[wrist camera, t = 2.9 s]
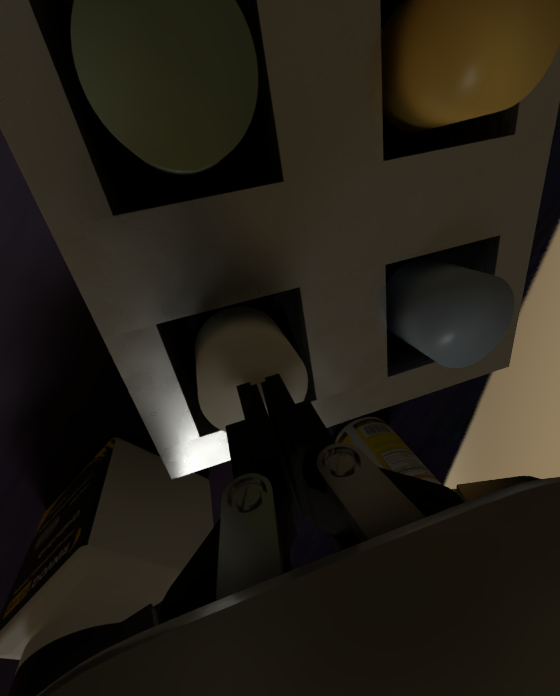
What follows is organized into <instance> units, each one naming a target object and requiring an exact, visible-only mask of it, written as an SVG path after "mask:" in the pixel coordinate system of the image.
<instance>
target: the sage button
mask: <svg viewBox="0 0 560 696" xmlns="http://www.w3.org/2000/svg"><path fill="white" fill-rule="evenodd" d="M71 45H72V53H73V58H74V63H75V67H76V71H77V74H78V77H79V80H80V83H81V85H82V88H83V90H84V92H85V95H86V97H87V99H88V101H89V102H90V104H91V106H92V108H93V110H94V111H95V113H96V114H97V116H98V117H99V119H100V120H101V121H102V123H103V124H104V125H105V126H106V128H107V129H108V130H109V131H110V132H111V133H112V135H114V136H115V137H116V138H117V139H118V140H119V141H120V142H121V143H122V144H123V145H124V146H125V147H127V148H128V149H129V150H130V151H132V152H133V153H134V154H135V155H137V156H138V157H139V158H140V159H142V160H143V161H144V162H145V163H147V164H148V165H150V166H152V167H153V168H155V169H157V170H159V171H162V172H164V173H167V174H171V175H177V176H191V175H196V174H200V173H202V172H205V171H207V170H209V169H210V168H212V167H213V166H215V165H216V164H217V163H218V162H219V161H220V160H222V159H223V158H224V157H225V156H226V155H227V154H229V153H230V152H231V151H232V150H233V149H234V148H235V147H236V146H237V144H238V143H239V142H240V141H241V139H242V138H243V136H244V134H245V133H246V131H247V129H248V127H249V125H250V123H251V120H252V117H253V114H254V111H255V106H256V101H257V94H258V65H257V57H256V52H255V47H254V43H253V39H252V36H251V33H250V30H249V27H248V25H247V22H246V20H245V18H244V15H243V13H242V11H241V10H240V8H239V6H238V4H237V2H236V0H74V3H73V9H72V16H71Z"/></svg>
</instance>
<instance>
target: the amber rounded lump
mask: <svg viewBox="0 0 560 696" xmlns="http://www.w3.org/2000/svg"><path fill="white" fill-rule="evenodd" d="M559 44H560V0H405V1H403V2H402V3H401V4H400V5H399V6H398V7H397V8H396V9H395V10H394V11H393V12H392V13H391V15H390V16H389V18H388V19H387V21H386V23H385V24H384V26H383V28H382V30H381V65H382V113H383V114H384V116H385V117H386V118H387V120H388V121H389V122H390V123H391V124H392V125H394V126H395V127H397V128H398V129H401V130H403V131H406V132H421V131H425V130H429V129H433V128H437V127H441V126H445V125H448V124H452V123H456V122H460V121H464V120H468V119H472V118H476V117H480V116H483V115H487V114H491V113H495V112H499V111H502V110H506V109H508V108H510V107H512V106H514V105H515V104H517V103H518V102H520V101H521V100H522V99H524V98H525V97H526V96H527V95H528V94H529V93H530V92H531V91H532V90H533V89H534V88H535V86H536V85H537V84H538V83H539V82H540V80H541V79H542V77H543V76H544V74H545V73H546V71H547V69H548V68H549V66H550V64H551V62H552V60H553V58H554V56H555V54H556V52H557V49H558V47H559Z"/></svg>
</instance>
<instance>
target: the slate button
mask: <svg viewBox="0 0 560 696" xmlns="http://www.w3.org/2000/svg"><path fill="white" fill-rule="evenodd" d="M513 312H514V295H513V292H512V289H511V287H510V286H509V284H508V283H507V282H506V281H505V280H504V279H502V278H500V277H497V276H494V275H490V274H487V273H483V272H479V271H475V270H472V269H468V268H464V267H460V266H457V265H453V264H449V263H445V262H441V261H438V260H434V259H430V258H420V259H415V260H412V261H410V262H408V263H406V264H405V265H403V266H402V267H400V268H399V269H398V270H397V271H396V272H395V273H394V274H393V275H392V276H391V277H390V279H389V280H388V282H387V283H386V323H387V329H388V330H389V331H391V332H392V333H394V334H395V335H397V336H398V337H400V338H401V339H403V340H404V341H406V342H407V343H409V344H410V345H412V346H413V347H415V348H416V349H418V350H419V351H421V352H422V353H424V354H425V355H427V356H428V357H430V358H431V359H433V360H434V361H436V362H437V363H439V364H440V365H442V366H444V367H447V368H463V367H466V366H469V365H472V364H474V363H476V362H478V361H479V360H481V359H482V358H484V357H485V356H486V355H488V354H489V353H490V352H491V351H492V350H493V349H494V348H495V347H496V346H497V345H498V343H499V342H500V341H501V339H502V338H503V336H504V335H505V333H506V331H507V330H508V327H509V325H510V323H511V320H512V317H513Z"/></svg>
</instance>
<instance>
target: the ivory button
mask: <svg viewBox="0 0 560 696" xmlns="http://www.w3.org/2000/svg"><path fill="white" fill-rule="evenodd" d="M195 363H196V376H197V389H198V400H199V404H200V408H201V410H202V412H203V414H204V416H205V417H206V418H207V420H208V421H209V422H210V423H211V424H213V425H214V426H215V427H217V428H218V429H220V430H222V431H224V432H226V428H225V426H226V425H229V424H233V423H236V422H239V421H242V420H245V418H244V414H243V410H242V406H241V403H240V399H239V395H238V391H237V388H236V386H238V385H241V384H245V383H248V382H250V383H251V385H255V384H257V387H258V389H259V392H260V395H261V397H262V400H263V402H264V405H265V408H266V410H267V407H266V403H265V399H264V395H263V391H262V387H261V382H265V377H268V376H272V375H275V374H278V373H279V375H280V376H281V378H282V380H283V382H284V384H285V386H286V388H287V390H288V391H289V393H290V395H291V397H292V399H293V401H294V403H295V404H296V403H299V402H302V401H303V400H304V398H305V395H306V392H307V387H308V375H307V371H306V368H305V365H304V363H303V361H302V360H301V358H300V357H299V355H298V354H297V353H296V351H295V350H294V348H293V347H292V346H291V344H290V343H289V341H288V340H287V339H286V337H285V336H284V334H283V333H282V332H281V330H280V329H279V327H278V326H277V325H276V323H275V322H274V321H273V320H272V318H270V317H269V316H268V315H267V314H265V313H264V312H262V311H260V310H258V309H255V308H251V307H242V306H240V307H232V308H227V309H224V310H222V311H220V312H218V313H216V314H215V315H213V316H212V317H210V318H209V319H208V320H207V321H206V322H205V323H204V324H203V326H202V327H201V329H200V331H199V332H198V335H197V337H196V341H195ZM267 413H268V411H267ZM268 416H269V415H268Z"/></svg>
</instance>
